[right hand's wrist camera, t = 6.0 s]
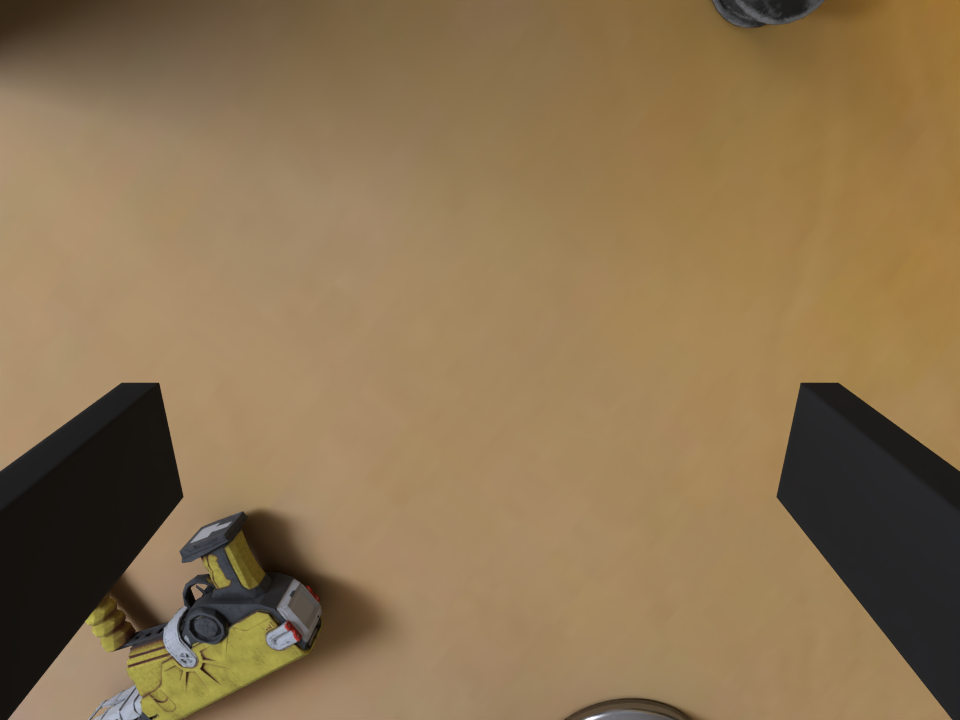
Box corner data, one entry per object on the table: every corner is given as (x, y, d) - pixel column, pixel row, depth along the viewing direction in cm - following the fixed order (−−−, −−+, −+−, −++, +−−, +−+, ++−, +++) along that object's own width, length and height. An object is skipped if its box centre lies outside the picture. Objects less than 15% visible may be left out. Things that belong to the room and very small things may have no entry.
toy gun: (-31, 642, 47) (101, 767, 51) (184, 504, 41) (319, 656, 44) (17, 600, 52) (137, 717, 55) (219, 470, 46) (339, 610, 49)
